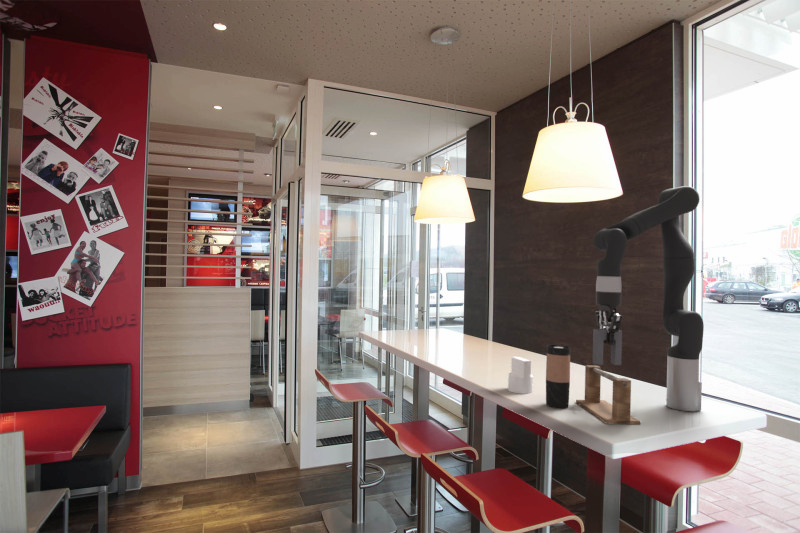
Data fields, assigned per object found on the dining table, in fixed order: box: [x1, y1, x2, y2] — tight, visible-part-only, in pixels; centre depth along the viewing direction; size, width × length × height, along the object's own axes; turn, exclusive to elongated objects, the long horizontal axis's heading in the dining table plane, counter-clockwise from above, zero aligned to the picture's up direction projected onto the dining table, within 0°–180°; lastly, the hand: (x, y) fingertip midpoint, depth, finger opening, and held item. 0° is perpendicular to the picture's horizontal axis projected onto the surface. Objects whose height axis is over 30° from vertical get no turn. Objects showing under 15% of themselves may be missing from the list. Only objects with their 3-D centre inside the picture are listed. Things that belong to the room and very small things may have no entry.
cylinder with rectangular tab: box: [507, 356, 534, 395], centre depth 172 cm, size 9×9×12 cm
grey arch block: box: [592, 328, 623, 366], centre depth 147 cm, size 8×3×11 cm, turn 92°
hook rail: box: [575, 364, 641, 425], centre depth 147 cm, size 10×22×13 cm, turn 2°
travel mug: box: [545, 344, 571, 410], centre depth 154 cm, size 8×8×20 cm
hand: (607, 343), depth 147 cm, fingers closed on grey arch block, 3 cm apart
